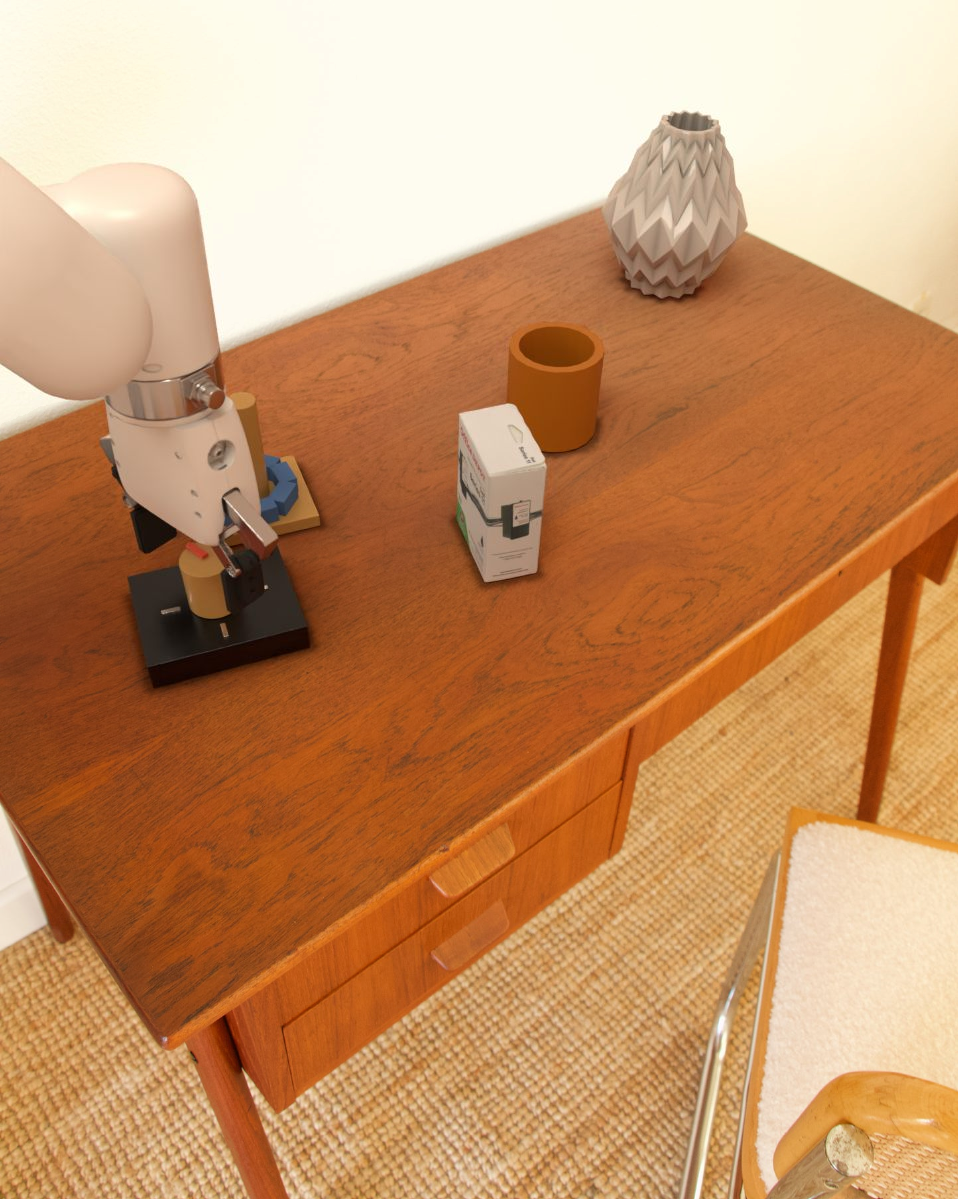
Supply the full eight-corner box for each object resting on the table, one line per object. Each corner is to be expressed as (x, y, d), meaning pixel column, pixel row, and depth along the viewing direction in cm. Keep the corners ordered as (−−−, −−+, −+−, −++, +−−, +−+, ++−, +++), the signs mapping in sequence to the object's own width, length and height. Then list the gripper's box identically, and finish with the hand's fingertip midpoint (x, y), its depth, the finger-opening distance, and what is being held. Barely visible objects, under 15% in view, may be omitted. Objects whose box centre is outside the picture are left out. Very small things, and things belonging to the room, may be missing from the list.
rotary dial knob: (252, 598, 79) (244, 553, 76) (212, 626, 77) (202, 582, 74) (218, 574, 81) (208, 529, 78) (178, 602, 79) (166, 557, 75)
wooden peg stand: (217, 549, 87) (195, 443, 79) (197, 485, 92) (174, 380, 84) (320, 525, 89) (309, 420, 81) (294, 464, 95) (281, 361, 87)
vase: (721, 252, 127) (754, 96, 113) (739, 321, 115) (778, 156, 102) (590, 245, 127) (609, 88, 114) (595, 314, 115) (617, 148, 102)
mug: (630, 410, 103) (644, 331, 96) (558, 465, 96) (567, 384, 90) (560, 376, 107) (568, 298, 100) (486, 426, 100) (489, 346, 94)
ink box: (454, 519, 90) (456, 407, 82) (506, 509, 91) (514, 398, 83) (483, 586, 85) (489, 474, 76) (539, 575, 86) (551, 463, 77)
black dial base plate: (153, 688, 76) (146, 665, 74) (133, 598, 82) (126, 574, 80) (310, 647, 79) (307, 624, 77) (279, 563, 86) (276, 540, 84)
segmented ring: (217, 540, 86) (214, 525, 85) (187, 482, 91) (184, 468, 90) (310, 511, 89) (309, 496, 88) (276, 457, 94) (274, 443, 93)
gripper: (303, 402, 63) (320, 599, 75) (123, 305, 70) (165, 499, 82) (208, 457, 58) (243, 657, 70) (28, 348, 66) (87, 546, 78)
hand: (201, 572), depth 76 cm, fingers open, 9 cm apart
